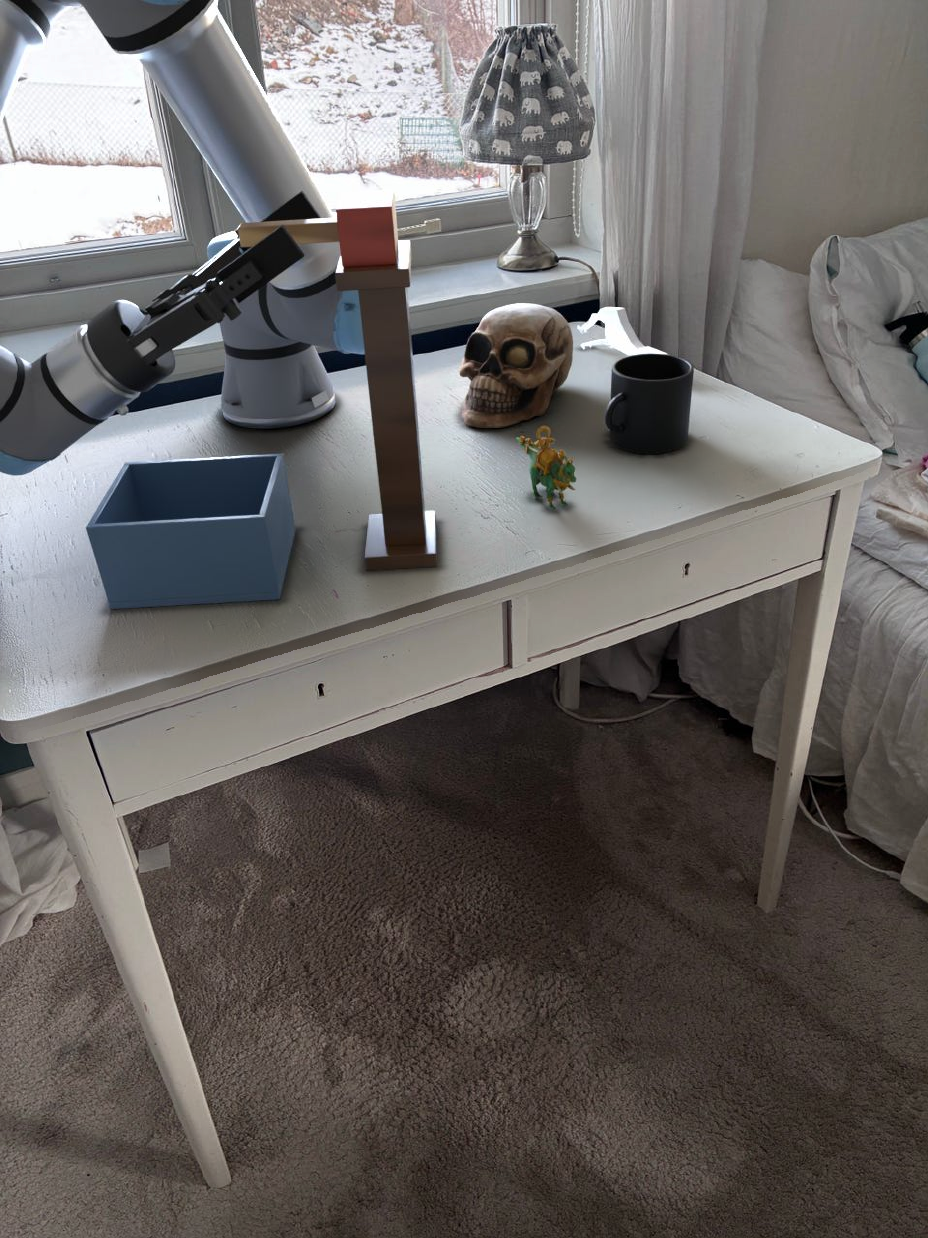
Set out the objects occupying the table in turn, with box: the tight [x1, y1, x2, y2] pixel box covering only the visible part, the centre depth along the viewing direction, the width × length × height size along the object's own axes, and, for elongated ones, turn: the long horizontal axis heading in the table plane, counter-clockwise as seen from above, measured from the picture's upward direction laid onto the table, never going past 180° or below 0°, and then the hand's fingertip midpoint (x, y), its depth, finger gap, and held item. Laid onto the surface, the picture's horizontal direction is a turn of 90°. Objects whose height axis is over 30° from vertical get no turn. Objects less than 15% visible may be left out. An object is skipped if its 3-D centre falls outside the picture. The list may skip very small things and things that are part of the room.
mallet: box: [237, 189, 399, 267], centre depth 80 cm, size 7×13×4 cm, turn 92°
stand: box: [335, 239, 438, 571], centre depth 89 cm, size 10×7×28 cm
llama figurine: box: [576, 306, 669, 356], centre depth 137 cm, size 2×11×18 cm
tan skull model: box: [458, 302, 574, 429], centre depth 125 cm, size 16×17×13 cm
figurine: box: [516, 425, 577, 510], centre depth 103 cm, size 3×12×8 cm, turn 27°
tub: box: [85, 452, 296, 610], centre depth 93 cm, size 14×16×9 cm
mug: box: [604, 353, 695, 455], centre depth 113 cm, size 9×12×9 cm
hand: (303, 220), depth 79 cm, fingers open, 13 cm apart
